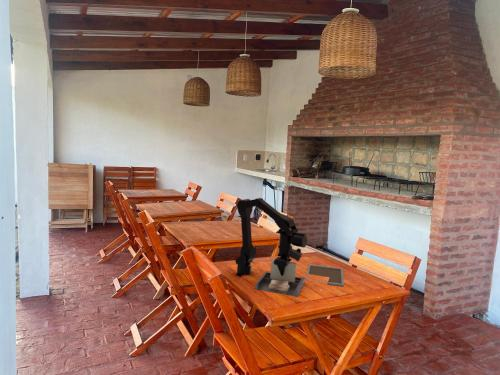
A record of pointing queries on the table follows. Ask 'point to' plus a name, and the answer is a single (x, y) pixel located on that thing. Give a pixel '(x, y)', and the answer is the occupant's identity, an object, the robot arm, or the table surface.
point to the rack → (266, 280)
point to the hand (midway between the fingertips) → (282, 274)
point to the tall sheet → (288, 273)
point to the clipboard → (327, 274)
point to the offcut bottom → (279, 288)
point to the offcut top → (279, 283)
